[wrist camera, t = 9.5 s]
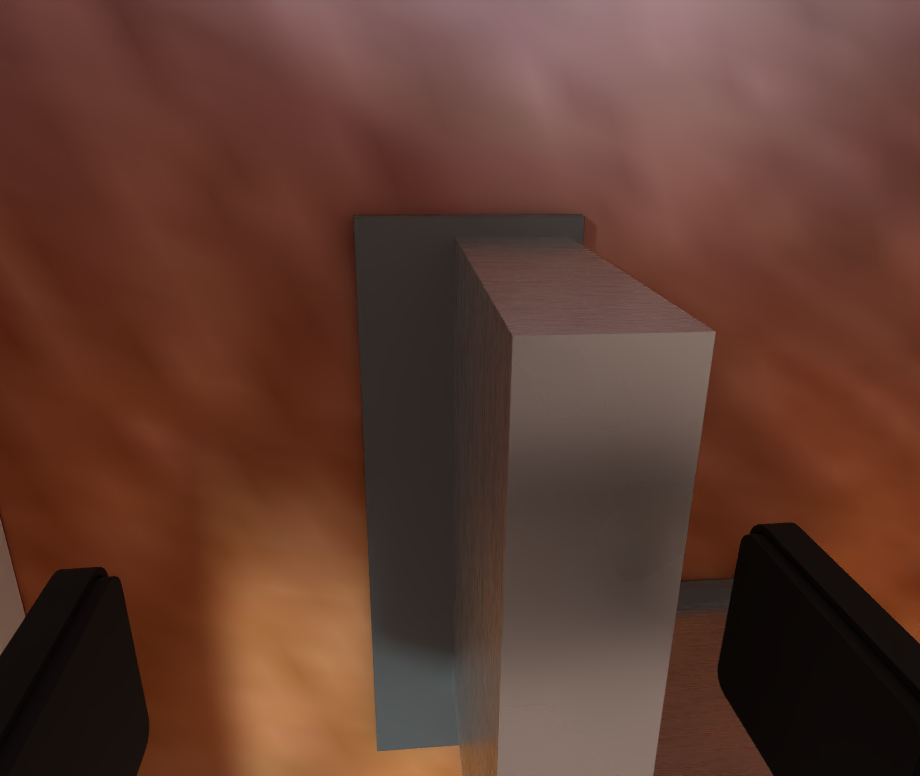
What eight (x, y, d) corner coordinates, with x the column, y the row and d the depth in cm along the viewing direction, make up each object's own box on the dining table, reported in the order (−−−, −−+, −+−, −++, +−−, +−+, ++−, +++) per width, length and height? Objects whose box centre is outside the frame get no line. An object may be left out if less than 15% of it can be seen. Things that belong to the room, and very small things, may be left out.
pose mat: (354, 215, 12) (353, 217, 12) (895, 213, 13) (906, 214, 13) (377, 740, 17) (377, 751, 16) (785, 710, 18) (792, 720, 17)
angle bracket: (455, 236, 12) (512, 336, 7) (888, 233, 13) (1263, 320, 7) (452, 688, 16) (489, 999, 10) (793, 665, 17) (999, 943, 11)
